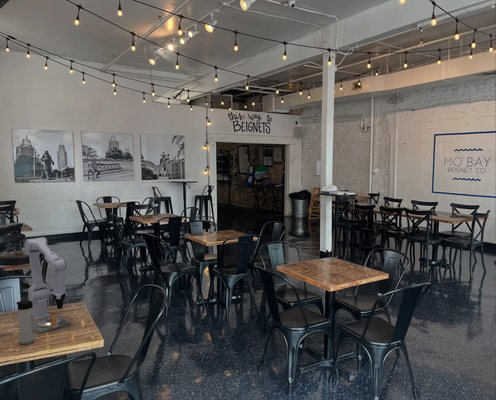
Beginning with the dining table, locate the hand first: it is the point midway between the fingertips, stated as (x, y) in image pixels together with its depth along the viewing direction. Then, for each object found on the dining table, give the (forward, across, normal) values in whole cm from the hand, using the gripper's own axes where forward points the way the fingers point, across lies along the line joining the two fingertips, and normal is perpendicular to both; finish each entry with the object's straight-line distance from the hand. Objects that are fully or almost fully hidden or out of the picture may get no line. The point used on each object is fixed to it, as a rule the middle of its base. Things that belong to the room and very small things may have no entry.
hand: (60, 308), depth 205 cm
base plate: (+9, -3, -6) cm, 11 cm away
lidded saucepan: (+8, -1, -5) cm, 10 cm away
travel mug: (+10, +15, -14) cm, 23 cm away
